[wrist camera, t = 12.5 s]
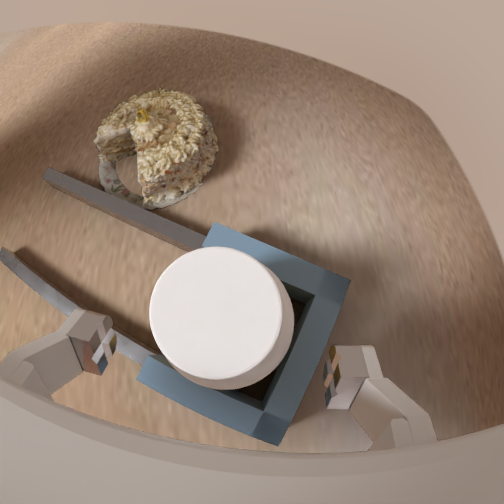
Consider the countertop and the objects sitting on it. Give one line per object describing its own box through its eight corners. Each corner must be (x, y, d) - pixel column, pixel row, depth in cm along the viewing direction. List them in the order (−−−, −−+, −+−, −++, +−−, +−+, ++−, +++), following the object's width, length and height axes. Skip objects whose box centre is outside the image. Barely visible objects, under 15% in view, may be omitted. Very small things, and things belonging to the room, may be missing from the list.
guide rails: (8, 263, 19) (-3, 257, 18) (56, 176, 21) (48, 167, 20) (156, 368, 17) (149, 370, 16) (216, 247, 19) (213, 239, 18)
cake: (158, 101, 25) (148, 55, 20) (247, 144, 23) (250, 92, 18) (77, 173, 21) (51, 131, 16) (161, 237, 20) (140, 194, 15)
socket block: (153, 375, 17) (136, 379, 14) (219, 241, 20) (214, 221, 17) (274, 431, 16) (278, 446, 13) (336, 291, 18) (350, 280, 16)
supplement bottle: (278, 286, 19) (303, 221, 9) (280, 374, 17) (311, 401, 8) (190, 287, 19) (134, 225, 9) (189, 374, 17) (125, 396, 8)
